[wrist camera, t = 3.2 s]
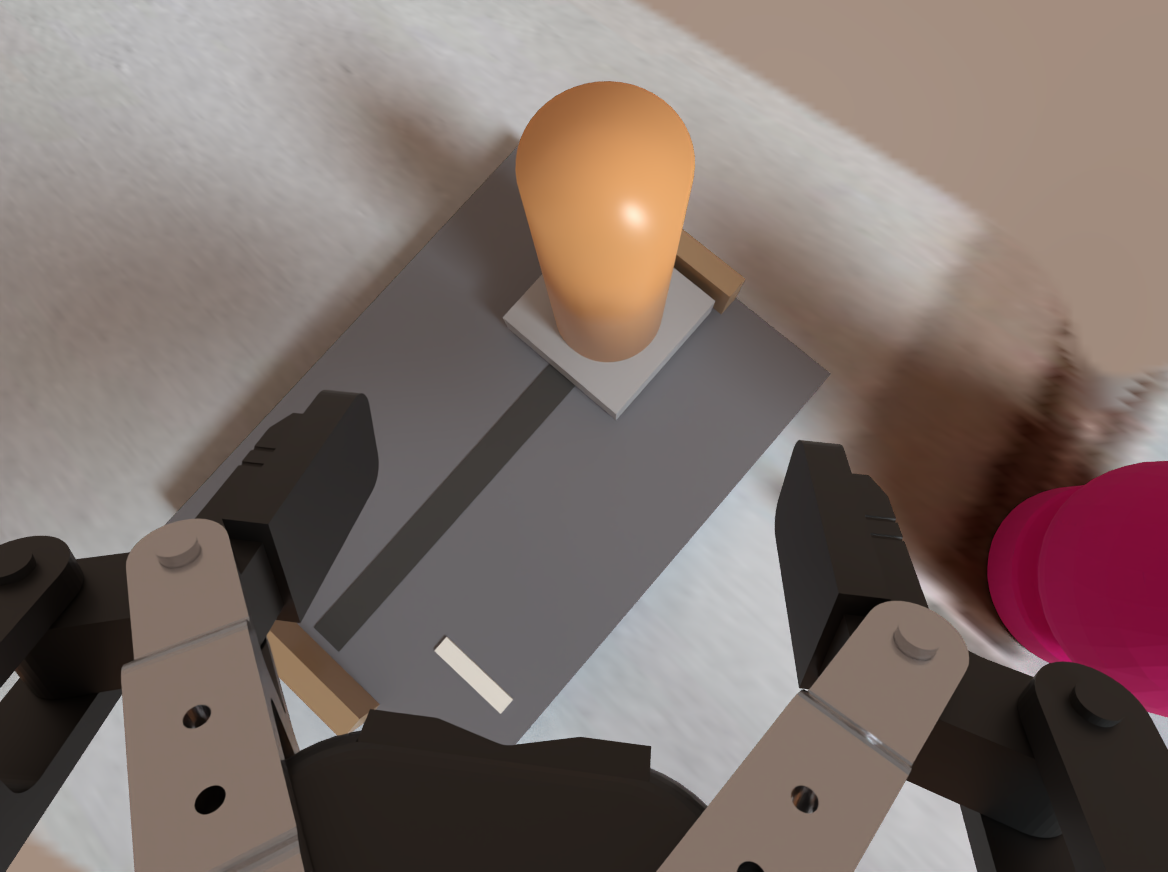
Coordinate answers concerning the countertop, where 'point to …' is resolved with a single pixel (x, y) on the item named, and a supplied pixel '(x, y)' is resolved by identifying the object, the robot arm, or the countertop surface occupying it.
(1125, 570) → the pepper mill
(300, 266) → the countertop surface
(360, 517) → the fader track
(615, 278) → the fader
